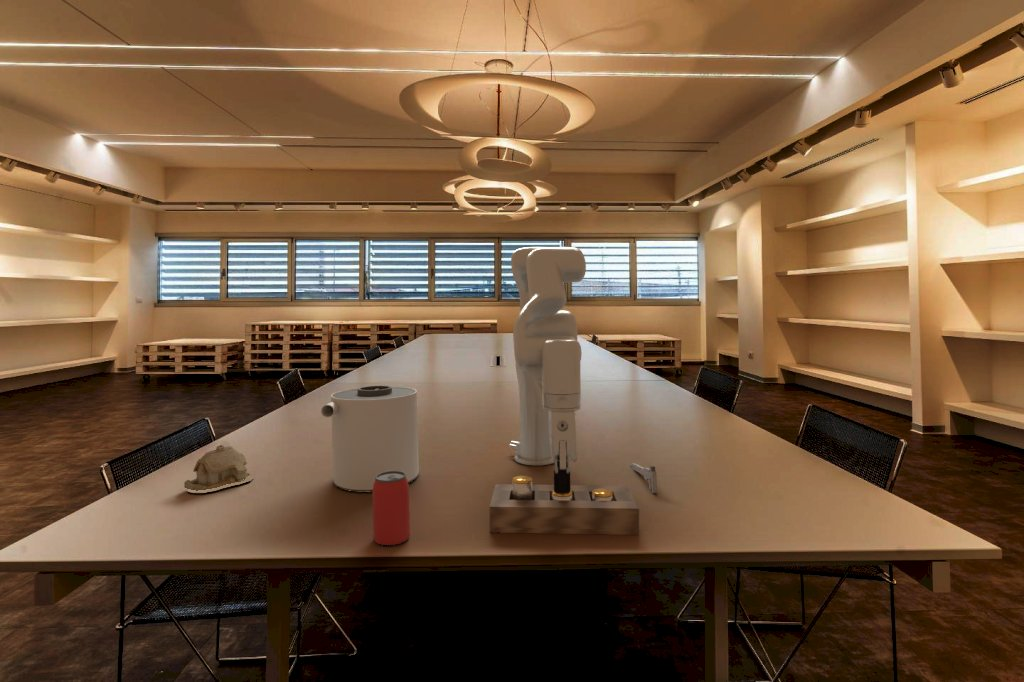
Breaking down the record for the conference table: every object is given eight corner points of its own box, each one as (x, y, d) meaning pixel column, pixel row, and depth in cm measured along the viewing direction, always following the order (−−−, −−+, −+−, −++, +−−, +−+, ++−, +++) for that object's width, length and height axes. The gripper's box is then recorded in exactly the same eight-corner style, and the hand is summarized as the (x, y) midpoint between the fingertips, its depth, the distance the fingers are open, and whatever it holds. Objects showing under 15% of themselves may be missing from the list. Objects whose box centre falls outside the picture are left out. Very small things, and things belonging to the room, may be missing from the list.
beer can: (391, 551, 84) (389, 484, 83) (366, 541, 87) (364, 477, 86) (417, 536, 89) (416, 473, 88) (392, 528, 93) (391, 467, 92)
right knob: (593, 519, 93) (593, 496, 93) (591, 510, 97) (591, 488, 97) (613, 519, 93) (613, 496, 92) (610, 510, 97) (610, 488, 96)
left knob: (512, 505, 94) (511, 482, 93) (513, 497, 98) (512, 475, 97) (532, 505, 93) (531, 482, 93) (532, 497, 97) (532, 475, 97)
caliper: (657, 495, 109) (657, 468, 108) (652, 495, 109) (652, 468, 108) (633, 466, 129) (633, 444, 129) (629, 466, 129) (629, 444, 129)
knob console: (489, 532, 90) (489, 506, 90) (495, 507, 102) (495, 484, 102) (638, 534, 88) (638, 508, 88) (627, 508, 100) (627, 485, 100)
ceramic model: (232, 474, 127) (231, 437, 126) (261, 479, 122) (260, 441, 122) (177, 492, 114) (175, 451, 113) (207, 499, 109) (205, 456, 109)
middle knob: (552, 518, 93) (552, 495, 93) (552, 510, 97) (551, 488, 97) (572, 518, 93) (572, 495, 93) (571, 510, 97) (571, 488, 97)
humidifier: (410, 493, 111) (408, 394, 110) (319, 495, 110) (316, 396, 109) (424, 464, 132) (422, 381, 131) (348, 466, 132) (346, 382, 130)
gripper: (583, 408, 86) (584, 506, 87) (577, 394, 101) (578, 478, 102) (542, 408, 87) (543, 506, 88) (542, 394, 102) (543, 478, 103)
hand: (562, 491), depth 95 cm, fingers closed
